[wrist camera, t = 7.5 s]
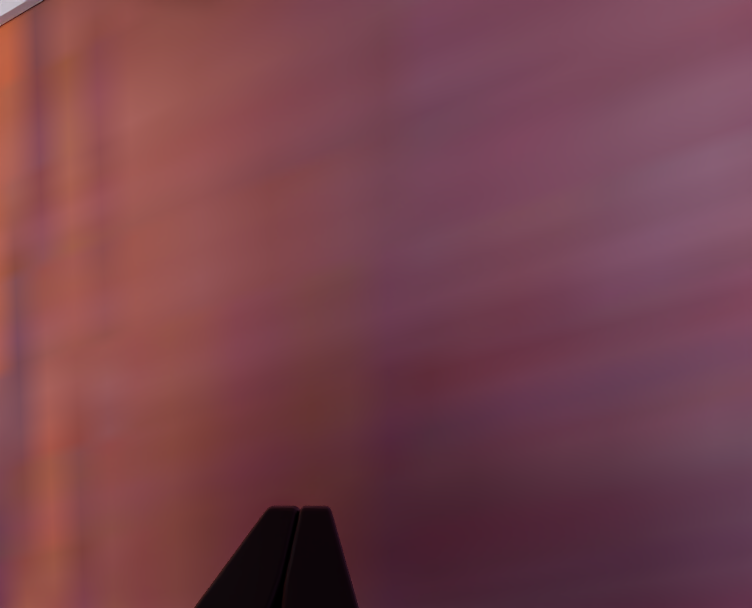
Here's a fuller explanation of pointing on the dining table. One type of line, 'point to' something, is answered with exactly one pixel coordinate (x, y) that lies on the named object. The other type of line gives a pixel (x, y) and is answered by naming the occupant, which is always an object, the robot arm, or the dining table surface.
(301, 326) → the dining table surface
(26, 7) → the mat
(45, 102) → the dining table surface
